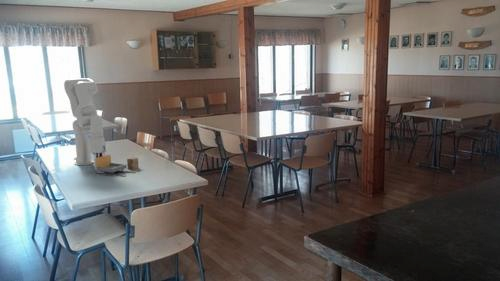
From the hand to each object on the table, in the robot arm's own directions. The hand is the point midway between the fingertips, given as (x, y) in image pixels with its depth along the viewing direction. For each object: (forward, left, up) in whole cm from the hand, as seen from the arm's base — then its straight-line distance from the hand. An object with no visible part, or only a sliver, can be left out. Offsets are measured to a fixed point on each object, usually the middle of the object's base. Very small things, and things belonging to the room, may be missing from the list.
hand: (99, 162), depth 267 cm
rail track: (+14, 0, -5) cm, 15 cm away
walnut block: (+16, +14, -5) cm, 22 cm away
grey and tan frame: (+10, 0, -5) cm, 12 cm away
